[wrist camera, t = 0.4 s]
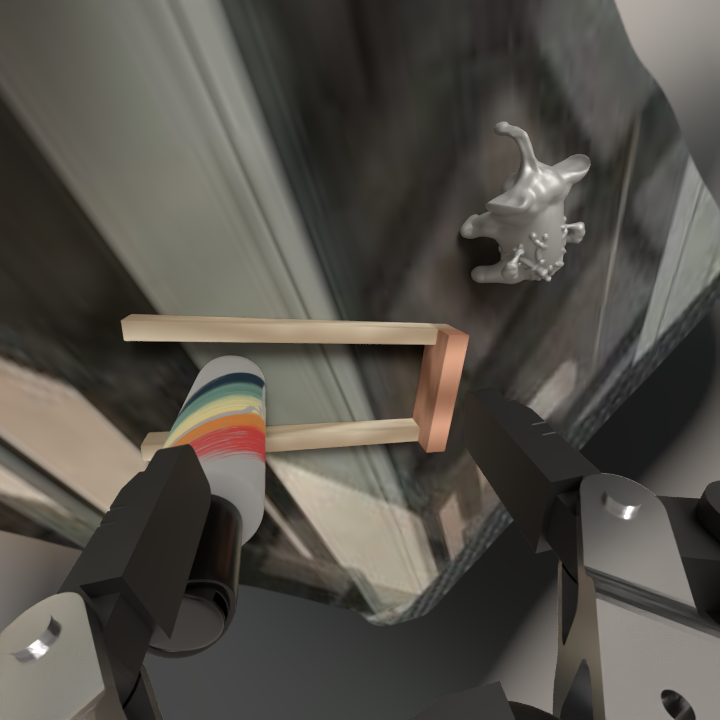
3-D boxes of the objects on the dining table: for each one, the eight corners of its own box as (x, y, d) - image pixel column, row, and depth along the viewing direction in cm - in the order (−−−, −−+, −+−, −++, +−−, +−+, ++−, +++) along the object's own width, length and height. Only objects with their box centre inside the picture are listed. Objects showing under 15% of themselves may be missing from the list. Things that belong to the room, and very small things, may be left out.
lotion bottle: (273, 402, 31) (281, 648, 13) (210, 419, 30) (120, 712, 12) (255, 346, 28) (235, 547, 10) (187, 362, 27) (30, 616, 9)
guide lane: (131, 314, 25) (108, 327, 21) (446, 324, 32) (469, 335, 29) (150, 447, 29) (134, 477, 25) (427, 429, 36) (444, 450, 33)
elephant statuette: (481, 297, 33) (542, 317, 26) (409, 202, 27) (463, 196, 20) (548, 226, 32) (628, 228, 25) (488, 113, 26) (571, 76, 20)
